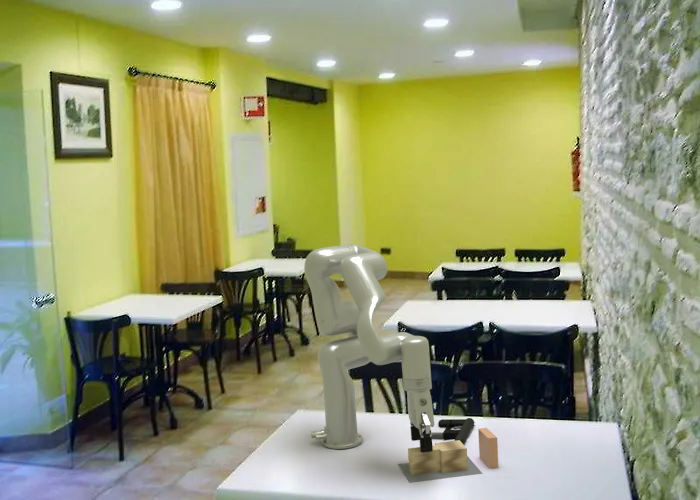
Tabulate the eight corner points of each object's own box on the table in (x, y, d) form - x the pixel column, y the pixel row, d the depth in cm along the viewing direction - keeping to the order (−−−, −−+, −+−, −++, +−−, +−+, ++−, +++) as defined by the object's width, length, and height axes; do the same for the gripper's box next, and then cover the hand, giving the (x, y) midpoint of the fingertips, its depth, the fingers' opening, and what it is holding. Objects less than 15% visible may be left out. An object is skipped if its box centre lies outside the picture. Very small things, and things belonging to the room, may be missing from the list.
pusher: (413, 476, 196) (412, 454, 196) (407, 467, 202) (406, 446, 202) (467, 470, 199) (466, 448, 198) (460, 461, 205) (459, 440, 204)
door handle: (413, 438, 221) (466, 438, 215) (428, 416, 239) (478, 416, 234) (414, 449, 221) (468, 449, 215) (429, 426, 240) (479, 426, 234)
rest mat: (409, 484, 193) (408, 482, 193) (397, 466, 206) (397, 464, 205) (482, 475, 196) (482, 473, 196) (467, 457, 209) (467, 455, 209)
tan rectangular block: (489, 470, 199) (488, 438, 198) (479, 460, 207) (478, 428, 206) (498, 469, 199) (497, 437, 198) (488, 458, 207) (487, 427, 206)
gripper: (439, 389, 189) (444, 454, 191) (422, 374, 206) (427, 434, 208) (411, 392, 188) (416, 458, 189) (396, 377, 205) (400, 437, 206)
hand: (421, 445), depth 199 cm, fingers open, 9 cm apart
